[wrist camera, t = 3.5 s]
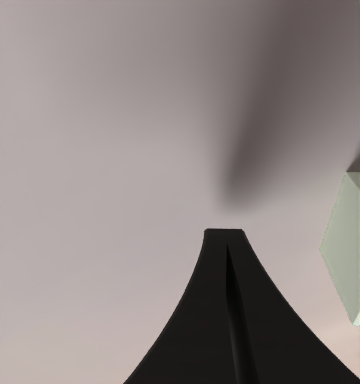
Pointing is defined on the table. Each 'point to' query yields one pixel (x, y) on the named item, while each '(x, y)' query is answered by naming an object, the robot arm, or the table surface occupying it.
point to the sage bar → (345, 245)
